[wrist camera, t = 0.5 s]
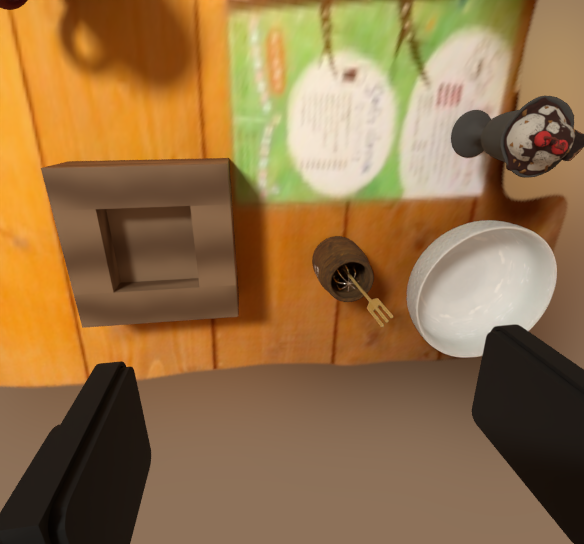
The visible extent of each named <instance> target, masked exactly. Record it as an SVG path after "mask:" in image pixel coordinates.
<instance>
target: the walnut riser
mask: <svg viewBox="0 0 584 544" xmlns="http://www.w3.org/2000/svg"><path fill="white" fill-rule="evenodd" d="M41 170H42V174H43V178H44V182H45V185H46V189H47V193H48V197H49V201H50V205H51V208H52V212H53V216H54V220H55V224H56V228H57V231H58V235H59V239H60V243H61V247H62V251H63V254H64V258H65V262H66V266H67V270H68V274H69V277H70V281H71V285H72V289H73V293H74V297H75V300H76V304H77V308H78V312H79V316H80V320H81V323H82V327H83V328H84V327H98V326H112V325H126V324H141V323H155V322H169V321H183V320H198V319H212V318H226V317H238V306H239V293H238V279H237V265H236V251H235V237H234V223H233V208H232V194H231V180H230V166H229V158H216V159H168V160H120V161H72V162H64V163H60V164H56V165H52V166H48V167H44V168H41Z"/></svg>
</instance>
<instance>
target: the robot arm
mask: <svg viewBox="0 0 584 544" xmlns="http://www.w3.org/2000/svg"><path fill="white" fill-rule="evenodd" d="M472 416H473V419H474V421H475V423H476V424H477V426H478V427H479V428H480V429H481V430H482V432H483V433H484V434H485V435H486V437H487V438H488V439H489V440H490V442H491V443H492V444H493V445H494V447H495V448H496V449H497V450H498V451H499V453H500V454H501V455H502V456H503V458H504V459H505V460H506V461H507V463H508V464H509V465H510V466H511V467H512V469H513V470H514V471H515V472H516V474H517V475H518V476H519V477H520V478H521V480H522V481H523V482H524V483H525V485H526V486H527V487H528V488H529V490H530V491H531V492H532V493H533V495H534V496H535V497H536V498H537V499H538V501H539V502H540V503H541V504H542V506H543V507H544V508H545V509H546V511H547V512H548V513H549V514H550V516H551V517H552V518H553V519H554V520H555V522H556V523H557V524H558V525H559V527H560V528H561V529H562V530H563V532H564V533H565V534H566V535H567V536H568V538H569V539H570V540H571V541H572V542H573V543H574V544H584V370H583V369H582V368H580V367H579V366H577V365H576V364H575V363H573V362H572V361H570V360H569V359H567V358H566V357H564V356H563V355H562V354H560V353H559V352H557V351H556V350H554V349H553V348H552V347H550V346H549V345H547V344H546V343H544V342H543V341H541V340H540V339H538V338H537V337H536V336H534V335H532V334H531V333H530V332H529V331H527V330H526V329H524V328H523V327H521V326H519V325H516V324H513V325H503V326H495V327H493V329H492V330H491V332H489V333H488V334H487V336H486V340H485V345H484V350H483V355H482V360H481V365H480V371H479V376H478V381H477V386H476V391H475V396H474V401H473V406H472ZM150 463H151V448H150V443H149V439H148V434H147V430H146V425H145V420H144V415H143V410H142V406H141V401H140V396H139V391H138V387H137V382H136V377H135V373H134V369H133V367H126V365H125V363H124V362H112V363H101V364H97V365H96V366H95V368H94V369H93V371H92V373H91V374H90V376H89V378H88V379H87V381H86V383H85V384H84V386H83V388H82V390H81V391H80V393H79V394H78V396H77V398H76V400H75V401H74V403H73V405H72V406H71V408H70V410H69V411H68V413H67V415H66V416H65V418H64V420H63V421H62V423H61V425H57V426H56V427H54V428H53V429H52V430H51V432H50V433H49V435H48V436H47V438H46V439H45V441H44V443H43V444H42V446H41V447H40V449H39V451H38V452H37V454H36V455H35V457H34V459H33V460H32V462H31V464H30V465H29V467H28V468H27V470H26V472H25V473H24V475H23V477H22V478H21V480H20V481H19V483H18V485H17V486H16V488H15V490H14V491H13V493H12V494H11V496H10V498H9V499H8V501H7V503H6V504H5V506H4V508H3V509H2V511H1V512H0V544H130V542H131V538H132V534H133V530H134V526H135V522H136V518H137V515H138V511H139V507H140V503H141V499H142V495H143V491H144V488H145V483H146V480H147V476H148V472H149V468H150Z"/></svg>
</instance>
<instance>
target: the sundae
mask: <svg viewBox="0 0 584 544" xmlns="http://www.w3.org/2000/svg"><path fill="white" fill-rule="evenodd" d="M451 142H452V146H453V148H454V150H455V151H456V153H457V154H459V155H461V156H463V157H473V156H476V155H478V154H480V153H481V152H482V151H485V152H486V153H487V154H489V155H490V156H492V157H494V158H496V159H498V160H501V161H503V162H506V164H507V165H506V168H507V169H508V170H510V171H512V172H513V173H515V174H516V175H518V176H520V177H535V176H538V175H541V174H544V173H546V172H548V171H550V170H551V169H553V168H554V167H555V166H556V165H557V164H558V163H559V162H560V161H561V160H564V161H570V160H572V159H573V158H574V157H575V155H577V154H578V153H579V152H580V151H581V150H582V148H583V147H584V134H582V133H581V132H579V131H576V130H575V129H574V115H573V113H572V110H571V109H570V107H569V105H568V104H567V103H565V102H564V101H562V100H561V99H559V98H557V97H552V96H541V97H538V98H536V99H533V100H532V101H530V102H528V103H527V104H526V105H525V106H523V107H522V108H521V109H520V110H516V111H512V112H507V113H504V114H501V115H499V116H496V117H495V118H493V119H492V120H491V118H490V117H489V115H488V114H486V113H485V112H483V111H481V110H472V111H469V112H467V113H465V114H464V115H462V116H461V117H460V118H459V119H458V120H457V122H456V123H455V125H454V127H453V130H452V135H451Z"/></svg>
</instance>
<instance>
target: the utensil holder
mask: <svg viewBox="0 0 584 544" xmlns="http://www.w3.org/2000/svg"><path fill="white" fill-rule="evenodd" d="M312 262H313V268H314V271H315V273H316V275H317V278H318V280H319V281H320V283H321V285H322V286H323V287H324V288H325V289H326V290H327V291H328V292H329V293H330V294H331V295H332V296H333V297H334V298H336V299H337V300H340V301H343V302H352V301H356V300H359V299H361V298H362V297H364V296H365V297H366V299H367V300H368V301H369V304H368V306H367V309H368V311H369V312H370V313H371V314H372V316H373V317H374V318H375V319H376V321H377V322H378V323H379V324H380V326H381V327H384V324H383V323H382V322H381V320H380V319H379V318H378V317H377V315H376V314H375V313H374V311H375V310H376V311H377V312H378V313H379V315H380V316H381V317H382V318H383V319H384V321H385V322H386V323H388V322H389V320H388V319H387V318H386V317H385V315H384V314H383V313H382V312H381V311H380V309H379V308H378V307H379V306H381V307H382V308H383V310H384V311H385V312H386V313H387V314H388V315H389V317H390V318H393V315H392V314H391V313H390V312H389V310H388V309H387V308H386V307H385V306H384V305H383V303H382V302H381V301H380V300H379V299H378V298H375V299H372V300H371V298H370V297H369V296H368V295H367V293H368V292H369V290H370V289H371V287H372V284H373V279H374V276H373V271H372V268H371V266H370V264H369V261H368V259H367V257H366V255H365V254H364V253H363V251H362V250H361V249H360V248H359V247H358V246H357V245H356V244H355V243H354V242H353V241H351V240H349V239H348V238H345V237H340V236H335V237H330V238H328V239H326V240H324V241H322V242H321V243H320V244H319V245H318V246H317V248H316V249H315V251H314V254H313V260H312Z"/></svg>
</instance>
